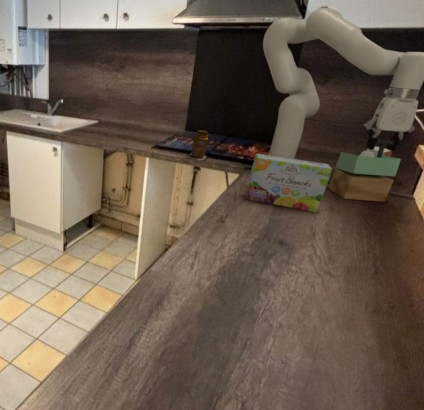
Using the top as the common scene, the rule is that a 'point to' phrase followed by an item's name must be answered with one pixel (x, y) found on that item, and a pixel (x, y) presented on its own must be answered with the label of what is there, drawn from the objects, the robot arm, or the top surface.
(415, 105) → the robot arm
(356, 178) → the stand
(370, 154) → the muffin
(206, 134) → the condiment
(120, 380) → the top surface
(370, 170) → the block
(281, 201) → the snack box
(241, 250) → the top surface
